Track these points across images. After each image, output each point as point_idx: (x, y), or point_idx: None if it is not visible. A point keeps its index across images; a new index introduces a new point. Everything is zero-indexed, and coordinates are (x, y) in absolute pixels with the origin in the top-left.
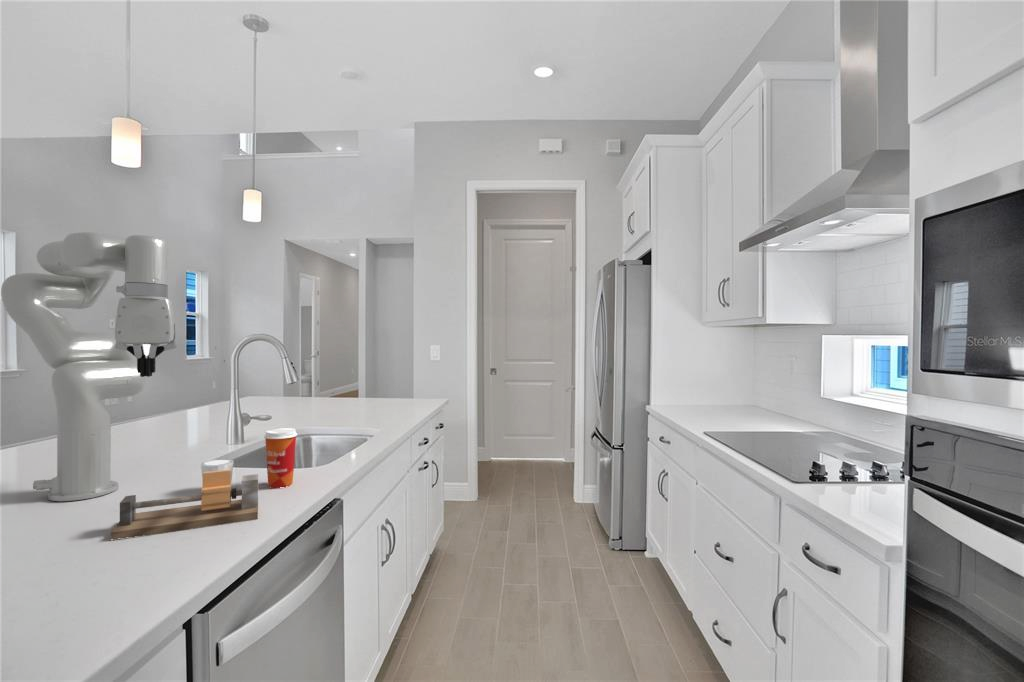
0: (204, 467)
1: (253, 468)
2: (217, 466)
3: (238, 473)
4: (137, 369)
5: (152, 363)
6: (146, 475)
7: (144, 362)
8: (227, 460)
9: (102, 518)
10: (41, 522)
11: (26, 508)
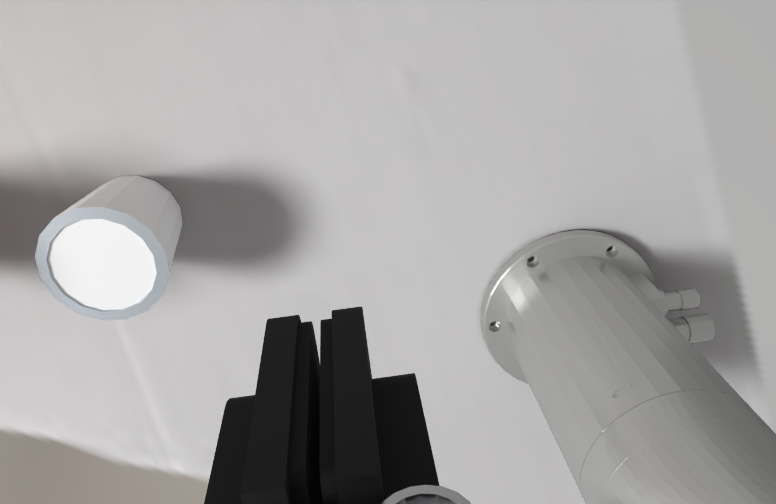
0: (140, 220)
1: (102, 451)
2: (79, 206)
3: (136, 404)
4: (413, 386)
5: (231, 478)
6: (440, 448)
7: (320, 440)
8: (72, 291)
9: (429, 3)
10: (601, 31)
11: (679, 200)
